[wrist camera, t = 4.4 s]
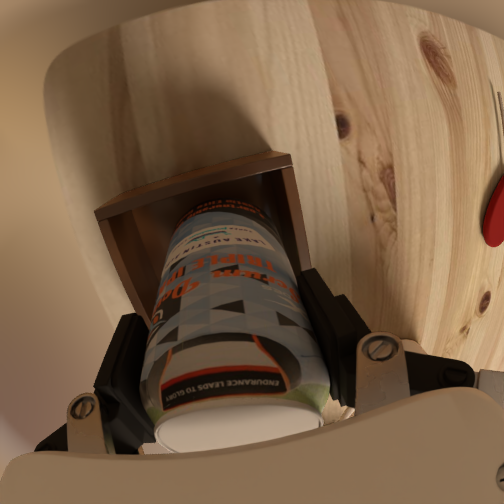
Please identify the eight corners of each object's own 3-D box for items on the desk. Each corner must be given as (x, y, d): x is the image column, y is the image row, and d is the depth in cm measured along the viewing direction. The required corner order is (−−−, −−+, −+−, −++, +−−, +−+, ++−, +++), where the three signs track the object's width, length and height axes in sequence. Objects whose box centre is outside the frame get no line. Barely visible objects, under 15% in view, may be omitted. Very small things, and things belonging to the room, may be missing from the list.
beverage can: (273, 187, 16) (389, 302, 5) (277, 299, 19) (339, 464, 8) (161, 198, 16) (68, 338, 5) (182, 310, 19) (166, 485, 8)
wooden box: (119, 194, 17) (93, 211, 13) (272, 150, 17) (290, 153, 13) (176, 337, 21) (170, 378, 17) (304, 306, 21) (322, 341, 17)
